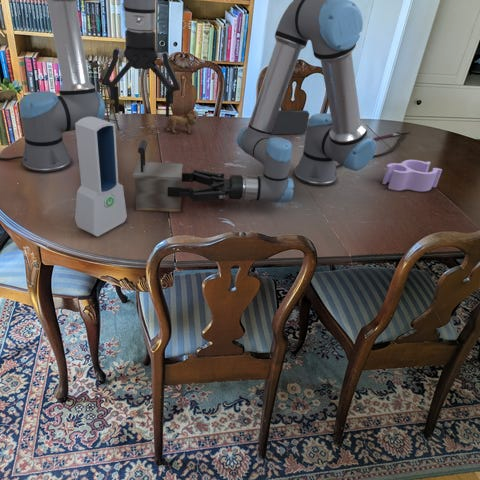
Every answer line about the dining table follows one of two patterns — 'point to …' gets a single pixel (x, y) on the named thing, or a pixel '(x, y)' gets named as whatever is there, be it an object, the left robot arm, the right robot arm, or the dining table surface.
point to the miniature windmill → (102, 75)
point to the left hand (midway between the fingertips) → (142, 113)
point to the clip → (411, 176)
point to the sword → (389, 135)
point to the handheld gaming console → (291, 122)
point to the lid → (155, 167)
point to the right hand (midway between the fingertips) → (168, 183)
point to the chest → (156, 194)
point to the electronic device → (98, 177)
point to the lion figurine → (183, 121)
